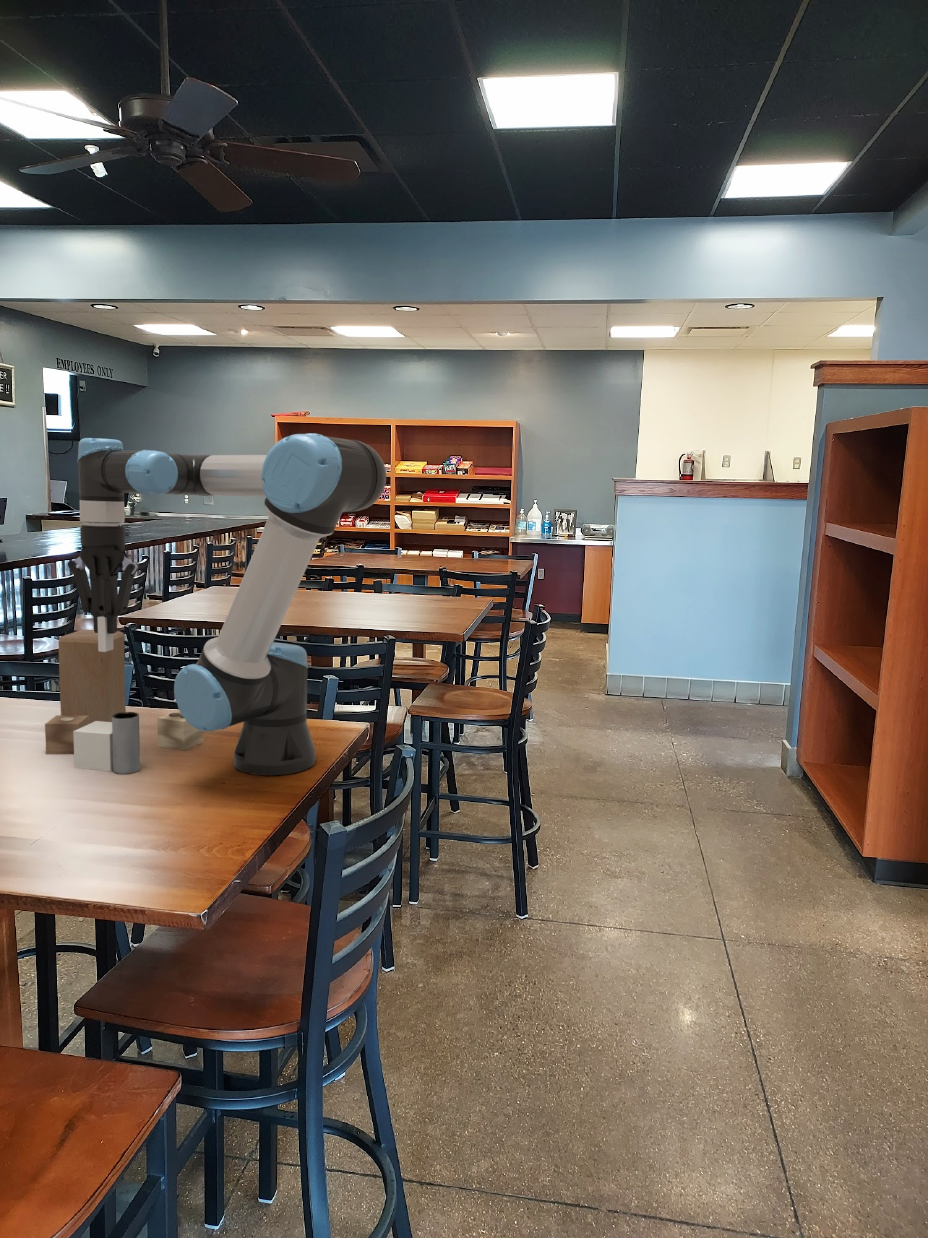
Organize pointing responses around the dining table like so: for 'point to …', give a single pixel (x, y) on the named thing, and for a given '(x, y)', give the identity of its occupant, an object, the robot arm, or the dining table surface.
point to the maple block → (177, 732)
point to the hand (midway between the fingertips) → (106, 650)
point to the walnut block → (63, 733)
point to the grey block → (94, 746)
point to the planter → (126, 742)
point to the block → (91, 676)
